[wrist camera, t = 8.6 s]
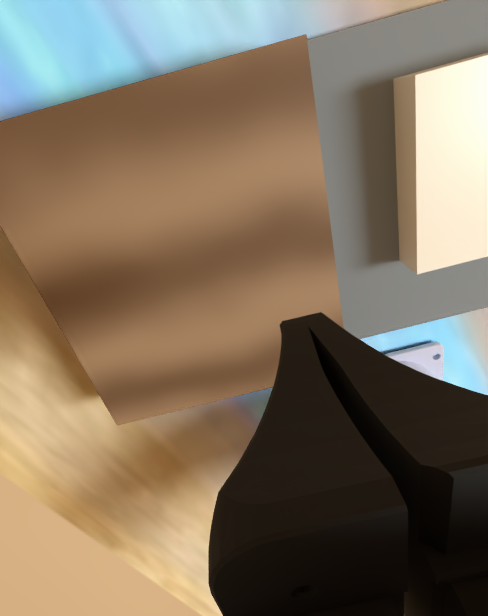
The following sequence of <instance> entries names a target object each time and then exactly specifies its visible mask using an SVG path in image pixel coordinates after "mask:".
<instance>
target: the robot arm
mask: <svg viewBox="0 0 488 616" xmlns="http://www.w3.org/2000/svg"><path fill="white" fill-rule="evenodd" d="M280 330H281V351H280V359H279V365H278V369H277V374H276V378H275V382H274V386H273V389H272V392H271V396H270V398H269V401H268V404H267V407H266V409H265V412H264V414H263V416H262V419H261V421H260V423H259V426H258V428H257V430H256V432H255V434H254V436H253V438H252V439H251V441H250V443H249V445H248V447H247V449H246V450H245V452H244V454H243V456H242V458H241V459H240V461H239V463H238V464H237V466H236V467H235V469H234V470H233V472H232V473H231V474H230V476H229V477H228V479H227V480H226V482H225V483H224V485H223V486H222V488H221V489H220V491H219V492H218V496H217V500H216V505H215V509H214V514H213V520H212V525H211V532H210V541H209V587H210V591H211V594H212V596H213V598H214V600H215V602H216V603H217V605H218V607H219V609H220V611H221V613H222V614H223V616H488V395H484V394H481V393H477V392H474V391H471V390H468V389H465V388H462V387H459V386H456V385H453V384H450V383H448V382H445V381H443V360H444V347H443V346H442V345H441V344H440V343H439V342H432V343H428V344H424V345H420V346H416V347H412V348H408V349H403V350H399V351H395V352H391V353H387V354H383V353H381V352H379V351H377V350H375V349H374V348H372V347H371V346H369V345H367V344H366V343H364V342H363V341H361V340H360V339H358V338H357V337H355V336H354V335H352V334H351V333H349V332H348V331H346V330H345V329H344V328H342V327H341V326H339V325H338V324H337V323H335V322H334V321H333V320H331V319H330V318H329V317H327V316H326V315H325V314H323V313H322V312H319V313H315V314H311V315H306V316H302V317H298V318H293V319H289V320H285V321H282V322H281V324H280ZM435 354H436V355H435ZM434 355H435V356H434Z"/></svg>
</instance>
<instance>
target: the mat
mask: <svg viewBox="0 0 488 616" xmlns="http://www.w3.org/2000/svg"><path fill="white" fill-rule="evenodd" d="M307 44H308V52H309V59H310V67H311V75H312V83H313V91H314V99H315V106H316V114H317V122H318V130H319V138H320V146H321V153H322V161H323V169H324V177H325V185H326V193H327V201H328V208H329V216H330V224H331V232H332V240H333V248H334V255H335V263H336V271H337V279H338V287H339V295H340V303H341V310H342V318H343V326H344V329H345V330H346V331H348V332H349V333H351V334H352V335H354V336H355V337H357V338H358V339H362V338H366V337H370V336H374V335H378V334H382V333H386V332H390V331H394V330H398V329H402V328H406V327H410V326H414V325H418V324H422V323H426V322H430V321H434V320H438V319H442V318H446V317H450V316H454V315H458V314H462V313H466V312H470V311H474V310H478V309H482V308H486V307H488V257H484V258H480V259H476V260H472V261H468V262H464V263H460V264H456V265H452V266H448V267H444V268H440V269H437V270H433V271H429V272H425V273H421V274H416V273H415V272H413V271H412V270H411V269H410V268H408V267H407V266H406V265H405V264H403V263H402V262H401V261H400V259H399V230H398V201H397V172H396V143H395V114H394V85H393V79H394V78H398V77H401V76H405V75H408V74H412V73H416V72H419V71H423V70H426V69H430V68H434V67H437V66H441V65H444V64H448V63H452V62H455V61H459V60H462V59H466V58H470V57H473V56H477V55H480V54H484V53H488V0H447V1H444V2H440V3H436V4H433V5H429V6H426V7H422V8H419V9H415V10H412V11H408V12H405V13H401V14H398V15H394V16H391V17H387V18H384V19H380V20H377V21H373V22H369V23H366V24H362V25H359V26H355V27H352V28H348V29H345V30H341V31H338V32H334V33H331V34H327V35H324V36H320V37H317V38H313V39H310V40H307Z"/></svg>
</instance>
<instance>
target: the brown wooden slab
mask: <svg viewBox="0 0 488 616" xmlns="http://www.w3.org/2000/svg"><path fill="white" fill-rule="evenodd" d="M0 226H1V228H2V229H3V231H4V233H5V234H6V236H7V238H8V240H9V241H10V243H11V245H12V246H13V248H14V250H15V252H16V253H17V255H18V257H19V258H20V260H21V262H22V264H23V265H24V267H25V269H26V270H27V272H28V274H29V276H30V277H31V279H32V281H33V282H34V284H35V286H36V287H37V289H38V291H39V293H40V294H41V296H42V298H43V299H44V301H45V303H46V305H47V306H48V308H49V310H50V311H51V313H52V315H53V317H54V318H55V320H56V322H57V323H58V325H59V327H60V329H61V330H62V332H63V334H64V335H65V337H66V339H67V341H68V342H69V344H70V346H71V347H72V349H73V351H74V352H75V354H76V356H77V358H78V359H79V361H80V363H81V364H82V366H83V368H84V370H85V371H86V373H87V375H88V376H89V378H90V380H91V382H92V383H93V385H94V387H95V388H96V390H97V392H98V394H99V395H100V397H101V399H102V400H103V402H104V404H105V406H106V407H107V409H108V411H109V412H110V414H111V416H112V417H113V419H114V421H115V423H116V424H117V425H121V424H125V423H129V422H133V421H137V420H141V419H145V418H149V417H153V416H157V415H162V414H166V413H170V412H174V411H178V410H182V409H186V408H190V407H194V406H198V405H202V404H206V403H210V402H214V401H218V400H222V399H226V398H231V397H235V396H239V395H243V394H247V393H251V392H255V391H259V390H263V389H267V388H271V387H273V386H274V382H275V378H276V374H277V369H278V365H279V359H280V351H281V330H280V324H281V322H282V321H285V320H289V319H293V318H298V317H302V316H306V315H311V314H315V313H319V312H322V313H323V314H325V315H326V316H327V317H329V318H330V319H331V320H333V321H334V322H335V323H337V324H338V325H339V326H341V327H342V328H344V326H343V318H342V310H341V303H340V295H339V287H338V279H337V271H336V263H335V255H334V248H333V240H332V232H331V224H330V216H329V208H328V201H327V193H326V185H325V177H324V169H323V161H322V153H321V146H320V138H319V130H318V122H317V114H316V106H315V99H314V91H313V83H312V75H311V67H310V59H309V52H308V44H307V36H306V34H305V35H302V36H298V37H295V38H291V39H288V40H284V41H281V42H277V43H274V44H270V45H267V46H263V47H260V48H256V49H252V50H249V51H245V52H242V53H238V54H235V55H231V56H228V57H224V58H221V59H217V60H214V61H210V62H207V63H203V64H200V65H196V66H193V67H189V68H186V69H182V70H179V71H175V72H172V73H168V74H165V75H161V76H158V77H154V78H151V79H147V80H143V81H140V82H136V83H133V84H129V85H126V86H122V87H119V88H115V89H112V90H108V91H105V92H101V93H98V94H94V95H91V96H87V97H84V98H80V99H77V100H73V101H70V102H66V103H63V104H59V105H56V106H52V107H49V108H45V109H42V110H38V111H34V112H31V113H27V114H24V115H20V116H17V117H13V118H10V119H6V120H3V121H0Z"/></svg>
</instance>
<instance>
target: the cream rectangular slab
mask: <svg viewBox="0 0 488 616" xmlns="http://www.w3.org/2000/svg"><path fill="white" fill-rule="evenodd" d="M393 85H394V114H395V143H396V172H397V201H398V230H399V259H400V261H401V262H402V263H403V264H405V265H406V266H407V267H408V268H410V269H411V270H412V271H413V272H415V273H416V274H421V273H425V272H429V271H433V270H437V269H440V268H444V267H448V266H452V265H456V264H460V263H464V262H468V261H472V260H476V259H480V258H484V257H488V53H484V54H480V55H477V56H473V57H470V58H466V59H462V60H459V61H455V62H452V63H448V64H444V65H441V66H437V67H434V68H430V69H426V70H423V71H419V72H416V73H412V74H408V75H405V76H401V77H398V78H394V79H393Z"/></svg>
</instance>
